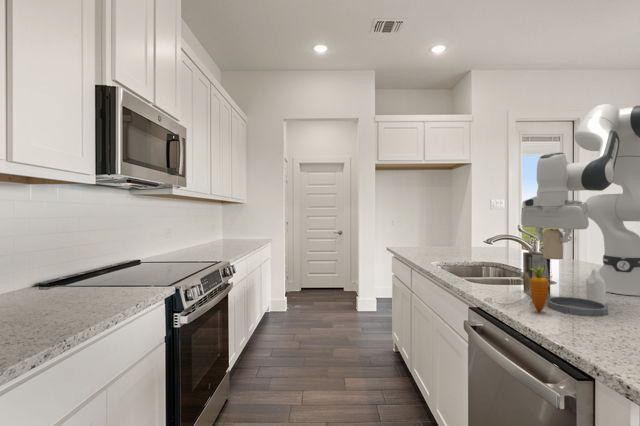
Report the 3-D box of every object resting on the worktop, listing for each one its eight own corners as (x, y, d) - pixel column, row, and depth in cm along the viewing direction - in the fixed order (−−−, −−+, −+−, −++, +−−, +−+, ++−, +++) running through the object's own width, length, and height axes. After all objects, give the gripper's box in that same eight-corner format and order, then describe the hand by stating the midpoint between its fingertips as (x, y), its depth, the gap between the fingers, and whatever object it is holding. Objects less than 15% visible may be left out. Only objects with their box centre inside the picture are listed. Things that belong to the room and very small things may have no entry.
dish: (550, 300, 125) (550, 294, 125) (607, 307, 115) (607, 301, 115) (544, 310, 113) (544, 304, 113) (608, 319, 103) (608, 313, 103)
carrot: (542, 315, 107) (542, 267, 107) (526, 311, 111) (526, 265, 111) (551, 313, 109) (551, 266, 109) (535, 309, 114) (535, 264, 113)
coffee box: (550, 298, 128) (550, 254, 128) (531, 297, 129) (531, 254, 129) (540, 292, 137) (540, 251, 137) (522, 291, 138) (522, 251, 138)
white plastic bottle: (608, 270, 117) (587, 269, 120) (608, 305, 118) (587, 303, 120) (603, 267, 123) (584, 266, 125) (603, 301, 123) (584, 299, 125)
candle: (545, 259, 115) (545, 229, 115) (541, 256, 120) (541, 228, 120) (565, 259, 113) (564, 229, 113) (560, 257, 118) (559, 228, 118)
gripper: (592, 199, 108) (593, 243, 109) (529, 201, 127) (530, 238, 127) (581, 200, 106) (581, 245, 106) (518, 201, 124) (518, 240, 124)
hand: (553, 241), depth 117 cm, fingers closed on candle, 5 cm apart
